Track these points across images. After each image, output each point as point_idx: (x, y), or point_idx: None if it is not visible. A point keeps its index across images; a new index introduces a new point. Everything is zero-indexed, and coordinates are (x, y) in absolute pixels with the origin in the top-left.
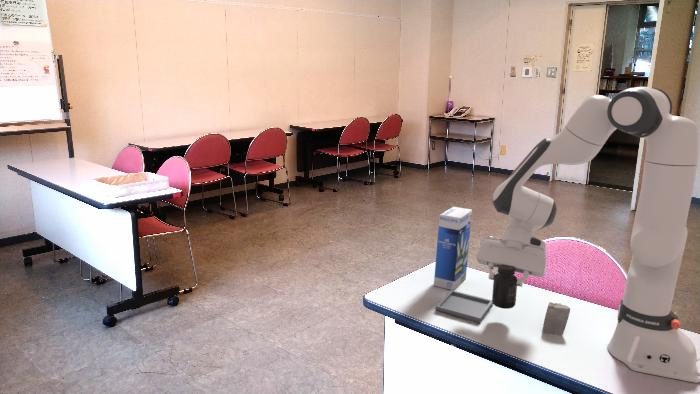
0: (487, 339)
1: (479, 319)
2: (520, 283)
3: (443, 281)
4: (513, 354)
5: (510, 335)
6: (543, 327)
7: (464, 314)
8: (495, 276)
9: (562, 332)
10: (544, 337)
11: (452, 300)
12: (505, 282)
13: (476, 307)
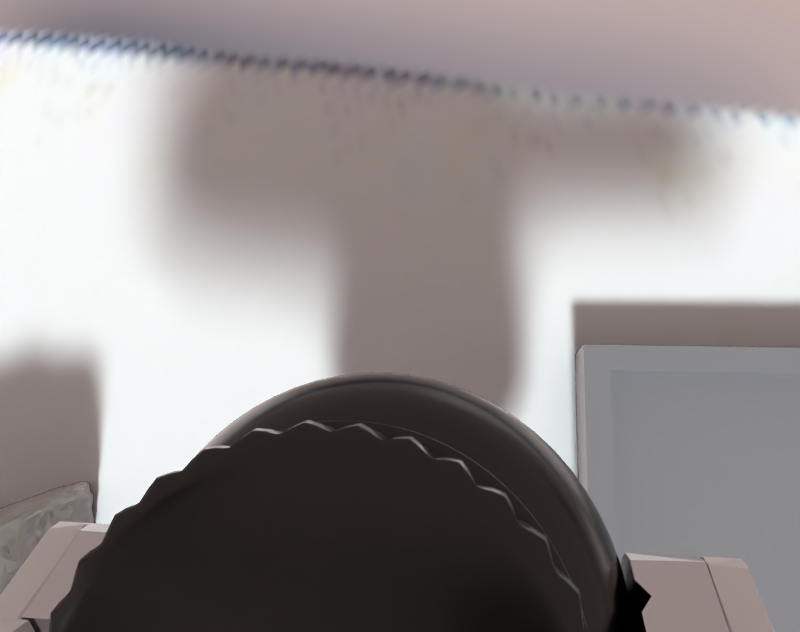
0: (450, 155)
1: (589, 346)
2: (67, 528)
3: None
4: (254, 74)
5: (312, 303)
6: (66, 491)
7: (743, 349)
8: (584, 521)
9: None
10: (80, 414)
11: None
12: (330, 380)
13: None
